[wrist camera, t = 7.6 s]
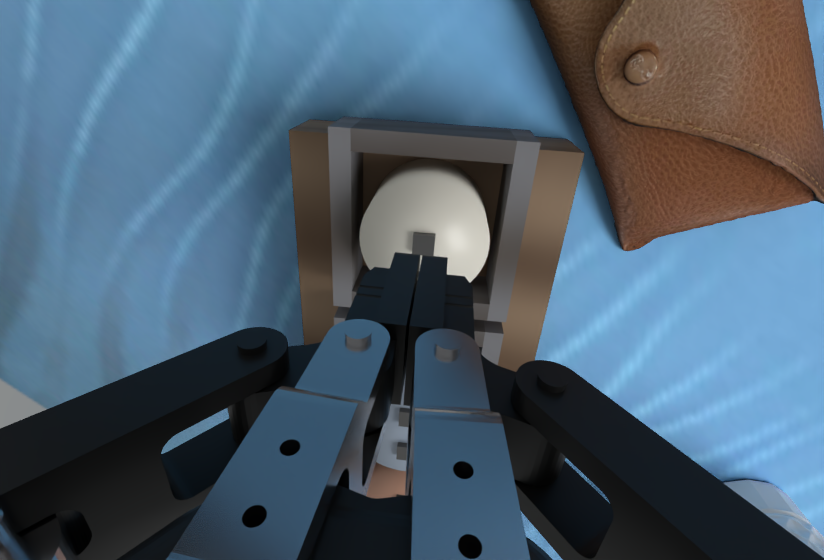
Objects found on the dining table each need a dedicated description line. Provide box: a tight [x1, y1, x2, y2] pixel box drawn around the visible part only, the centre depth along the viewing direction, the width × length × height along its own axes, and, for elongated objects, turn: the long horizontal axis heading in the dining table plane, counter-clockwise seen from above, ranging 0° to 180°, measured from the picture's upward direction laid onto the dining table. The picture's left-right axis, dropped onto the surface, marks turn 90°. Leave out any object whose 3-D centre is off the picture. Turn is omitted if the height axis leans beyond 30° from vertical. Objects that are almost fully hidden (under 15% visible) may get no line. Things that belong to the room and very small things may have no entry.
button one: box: [359, 159, 490, 282], centre depth 17 cm, size 5×5×3 cm
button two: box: [376, 375, 410, 471], centre depth 20 cm, size 5×5×3 cm
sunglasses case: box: [530, 0, 824, 251], centre depth 17 cm, size 18×7×7 cm, turn 32°
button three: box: [366, 462, 406, 498], centre depth 25 cm, size 5×5×3 cm
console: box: [289, 116, 584, 372], centre depth 23 cm, size 23×12×6 cm, turn 177°
